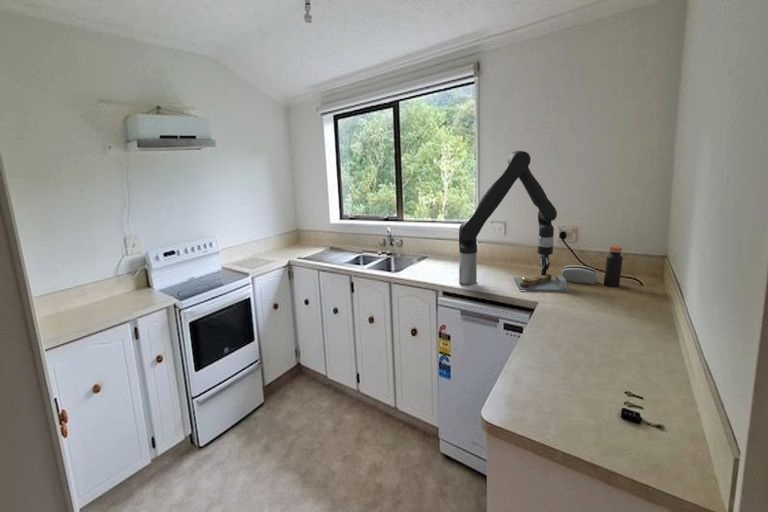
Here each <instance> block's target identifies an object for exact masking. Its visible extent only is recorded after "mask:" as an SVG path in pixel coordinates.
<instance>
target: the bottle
mask: <svg viewBox="0 0 768 512" xmlns="http://www.w3.org/2000/svg"><path fill="white" fill-rule="evenodd" d="M622 250H623V249H622V246H620V245H619V246H618V245H611V246H610V247H609V252H610V253H609V254H607V256H606V259H605V268H604V269H605V270H604V279H603V285H604V286H606V287H608V288H619V287H620V284H621V283H620V282H621V276H622V275H621V274H622V267H623V260H624V258H623V255H621V253H622Z"/></svg>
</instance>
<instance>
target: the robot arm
mask: <svg viewBox="0 0 768 512" xmlns="http://www.w3.org/2000/svg"><path fill="white" fill-rule="evenodd" d="M531 161H532V160H531V156H530V154H529V152H527V151H524V150H514V151H513V152H511V153H510V154H509V156H508V158H507V164H508V165H507V167H506V169H505V170H504V171H503V173H502V174H501V175H500V176H499V177H498V178H497V179H496V180H495V181H493V182H492V184H491V185H489V187H488V188H487V190H486V191H485V192H484V193H483V195H482V196H481V198H480V200H479V202H478V204H477V207H476V208H475V209H476V210H474V213H473V214H472V215H471V217H470V218H469V219H468V220H467V221H463V222H462V223H461V224H460V226H459V228H458V246H459V248H458V249H459V256H458V257H459V260H458V261H459V263H458V264H459V265H458V266H459V267H458V273H459V274H458V277H459V278H458V284H459V283H462V284H461V285H464V284H473V285H475V284H474V283H476V284H477V281H478V280H477V279H478V278H477V277H478V276H477V273H478V271H477V270H478V244H477V241H478V239H477V237H478V236H479V234H480V232H481V231H482V229H483V227H484V226H485V223H486V222H487V220H488V219H489V218H490V217H491V216H492V214H493V213H494V212H495V211H496V209H497V208H498V207H499V206H500V204H501V203H502V201H503V200H504V198H505V197H506V196H507V194H508V192H510V190H511V189H512V187H513V186H514V184H515V182H516V181H517V180H518V179H519V180H520V182H521V183H522V185H523V187H524V189H525V191H526V193H527V195H528V197H529V198H530V201H531V202H532V203H533V205H534V206H535V207H536V208H537V209H538V212H537V219H538V220H537V222H538V227H539V229H538V238H537V254H539V255H540V256H539V258H538V259H539V266H540V270H541V272H540V273H541V274H540V276H542V275H546V274H547V271H548V270H549V267H550V264H551V262H550V260H551V259H550V257H549V256H550V255H553V254H554V242H555V241H554V240H555V239H554V231H555V229H554V226H553V225H552V221H554V220H556V219H557V216H558V215H557V214H558V212H557V210H556V207H555V206H554V205H553V203H552V202H551V201H550V199H548V196H547V194H546V192H545V191H544V188H543V187H542V185H541V184H540V183H539V181H538V180H537V179H536V177H535V176H534V175H533V174H532V171H531V170H530V168H529V166H530V163H531Z"/></svg>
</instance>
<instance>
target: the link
mask: <svg viewBox="0 0 768 512" xmlns="http://www.w3.org/2000/svg"><path fill="white" fill-rule="evenodd" d="M529 278H530V279H528V281H526V282H525V281H522V280H521V281H520V286H521V287H529V286H531V285H535V284H538V283H542V282H546V281H550V280H551V278H552V274H548V273H546V275H542V276H541V275H539V276H534V277H529Z"/></svg>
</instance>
